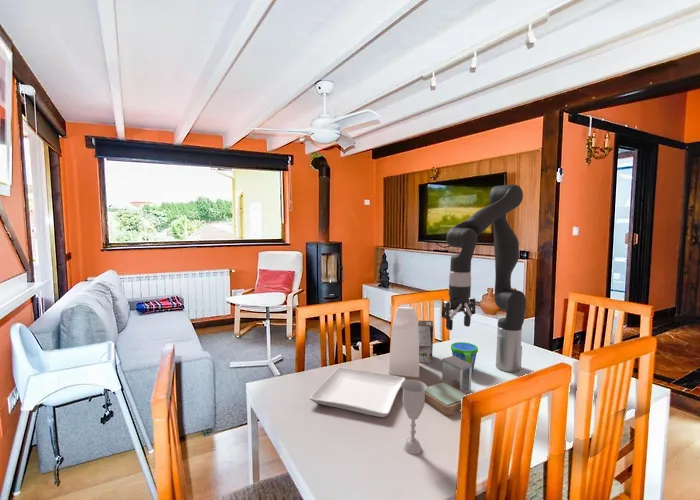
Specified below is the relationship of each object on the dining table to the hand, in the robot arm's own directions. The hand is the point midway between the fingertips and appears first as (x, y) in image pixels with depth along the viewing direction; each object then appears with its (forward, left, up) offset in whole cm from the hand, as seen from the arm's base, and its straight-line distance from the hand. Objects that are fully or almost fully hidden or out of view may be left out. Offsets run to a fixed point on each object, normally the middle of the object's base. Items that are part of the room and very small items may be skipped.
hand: (458, 327), depth 137 cm
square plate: (+34, -12, -23) cm, 43 cm away
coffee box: (-8, -27, -23) cm, 36 cm away
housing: (0, 0, -23) cm, 23 cm away
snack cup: (-14, -10, -23) cm, 29 cm away
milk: (+7, -22, -23) cm, 33 cm away
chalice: (+37, +21, -23) cm, 48 cm away
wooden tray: (+11, +6, -23) cm, 26 cm away
